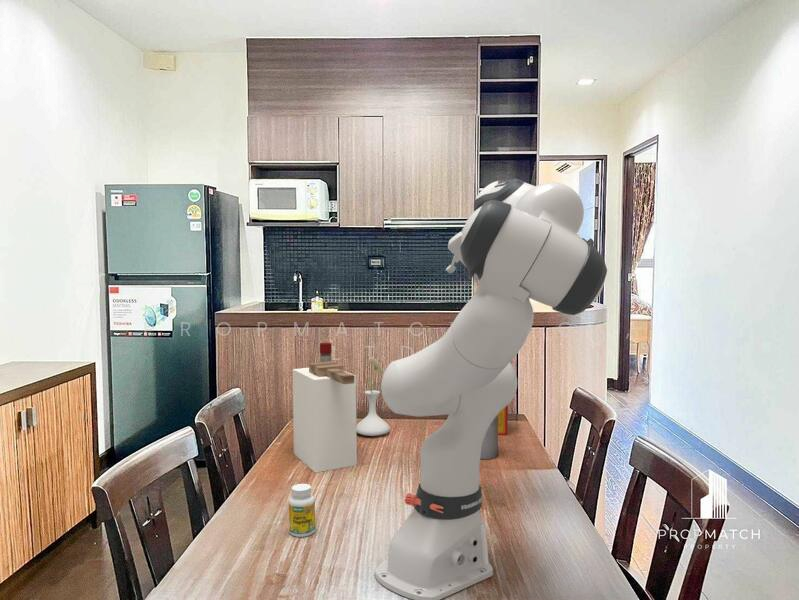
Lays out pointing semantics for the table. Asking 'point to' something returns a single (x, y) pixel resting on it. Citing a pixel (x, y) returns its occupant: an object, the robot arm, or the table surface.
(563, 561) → the table surface
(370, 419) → the flower in vase
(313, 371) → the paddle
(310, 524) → the supplement bottle
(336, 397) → the stand
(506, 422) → the baking soda box
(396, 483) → the table surface
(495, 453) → the pillar candle
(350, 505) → the table surface
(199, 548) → the table surface
